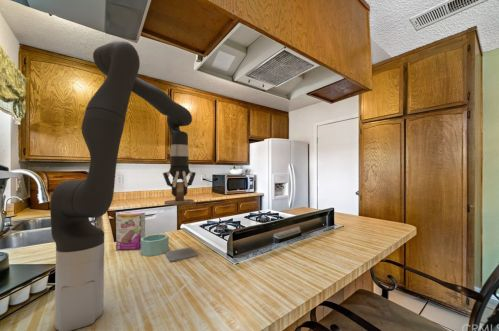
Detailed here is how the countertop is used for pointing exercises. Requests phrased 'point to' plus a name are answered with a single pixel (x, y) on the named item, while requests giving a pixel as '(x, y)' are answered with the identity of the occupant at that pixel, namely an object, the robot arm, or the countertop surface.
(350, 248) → the countertop surface
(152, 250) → the bowl
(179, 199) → the lid
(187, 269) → the countertop surface
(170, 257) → the mat
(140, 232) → the candy bar box
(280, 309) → the countertop surface
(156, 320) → the countertop surface
